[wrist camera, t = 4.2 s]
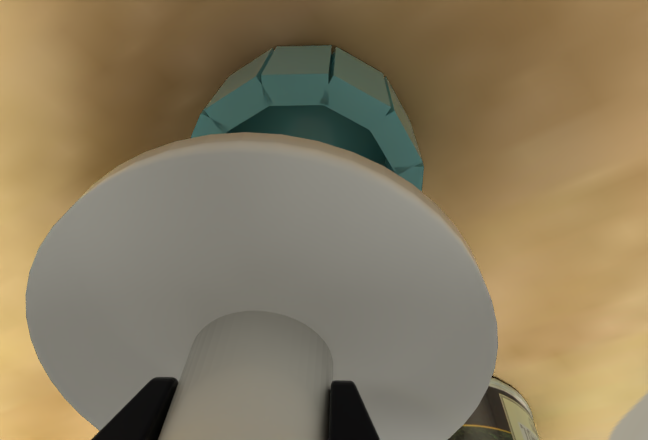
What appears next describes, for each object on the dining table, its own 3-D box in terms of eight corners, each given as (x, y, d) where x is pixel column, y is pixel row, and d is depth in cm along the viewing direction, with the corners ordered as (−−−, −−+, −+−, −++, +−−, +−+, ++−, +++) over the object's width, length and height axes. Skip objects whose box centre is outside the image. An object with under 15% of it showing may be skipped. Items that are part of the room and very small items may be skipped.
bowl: (415, 41, 17) (432, 71, 13) (402, 226, 21) (412, 286, 17) (197, 45, 17) (160, 76, 14) (226, 227, 21) (203, 285, 18)
